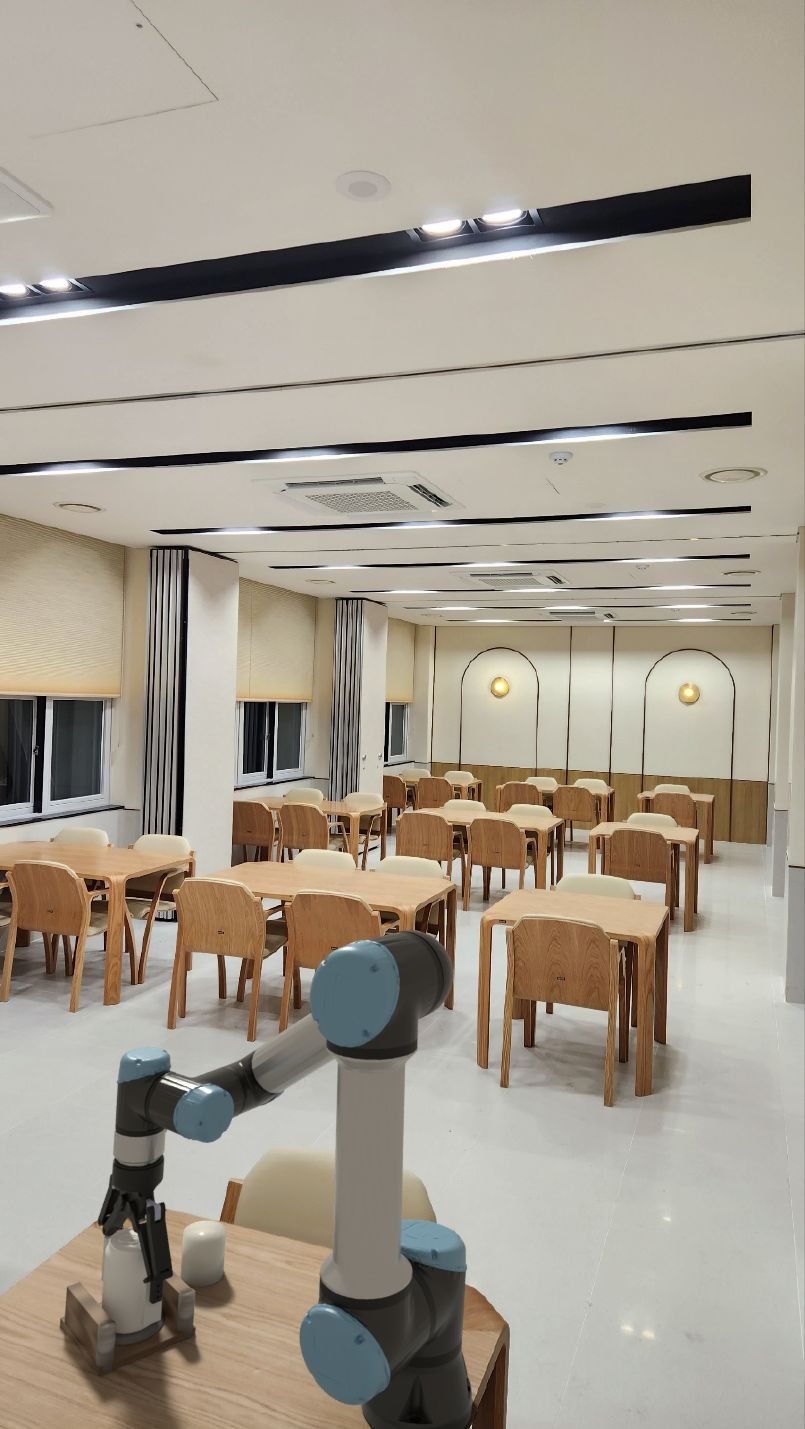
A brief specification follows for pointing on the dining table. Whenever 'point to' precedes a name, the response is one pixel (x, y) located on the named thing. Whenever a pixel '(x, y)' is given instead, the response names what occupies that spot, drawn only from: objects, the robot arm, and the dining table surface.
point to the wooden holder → (115, 1349)
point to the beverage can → (124, 1281)
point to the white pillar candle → (203, 1253)
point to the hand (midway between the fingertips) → (130, 1299)
